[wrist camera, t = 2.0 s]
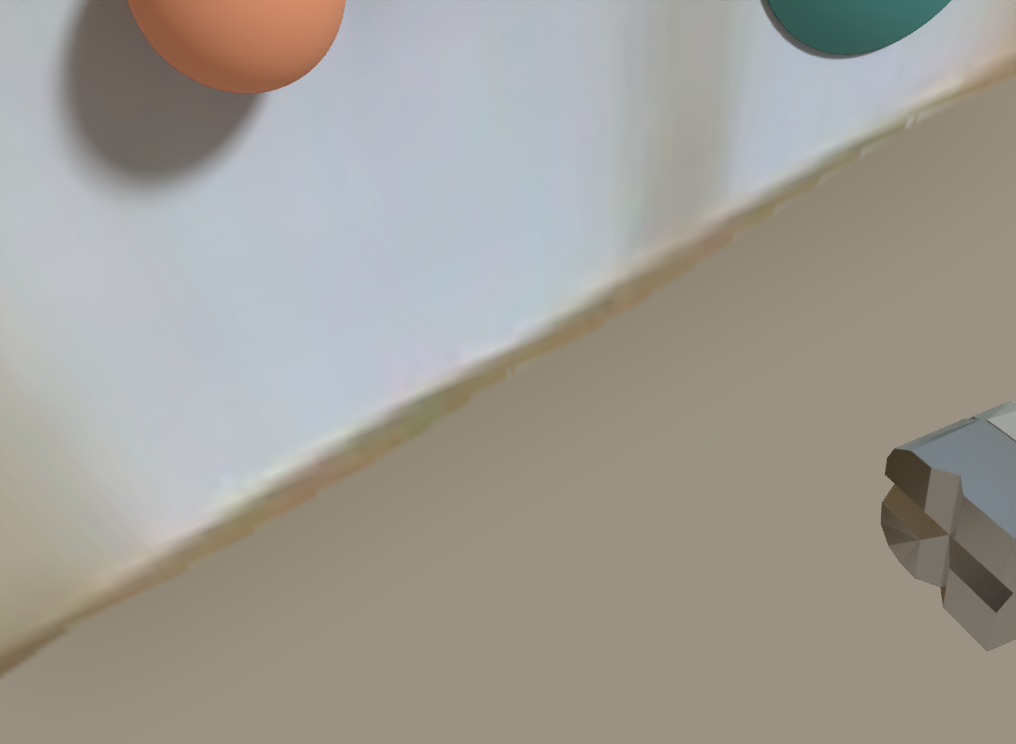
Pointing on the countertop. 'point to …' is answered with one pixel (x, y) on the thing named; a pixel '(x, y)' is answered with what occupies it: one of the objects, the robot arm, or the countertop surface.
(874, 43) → the disc
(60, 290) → the countertop surface
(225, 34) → the ball
